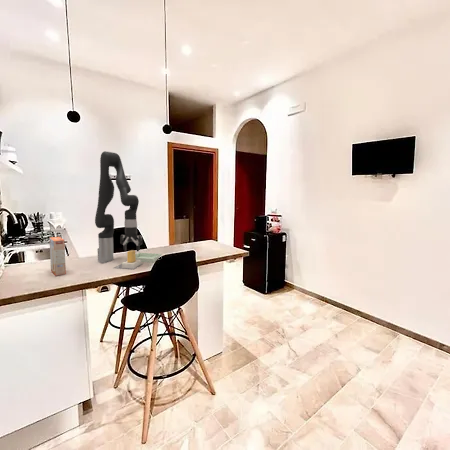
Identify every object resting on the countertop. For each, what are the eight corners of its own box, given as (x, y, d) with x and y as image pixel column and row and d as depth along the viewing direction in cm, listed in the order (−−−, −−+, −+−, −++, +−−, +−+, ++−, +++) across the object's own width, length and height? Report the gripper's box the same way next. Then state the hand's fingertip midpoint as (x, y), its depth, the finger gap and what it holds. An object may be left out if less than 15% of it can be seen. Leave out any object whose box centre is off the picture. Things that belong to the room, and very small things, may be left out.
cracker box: (66, 274, 155) (64, 239, 152) (54, 276, 151) (52, 240, 148) (61, 268, 165) (60, 236, 162) (50, 270, 161) (48, 237, 158)
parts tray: (128, 262, 184) (128, 257, 183) (139, 256, 199) (139, 252, 199) (152, 263, 181) (152, 258, 181) (161, 258, 197) (161, 253, 196)
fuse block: (112, 269, 166) (112, 263, 165) (124, 263, 180) (124, 258, 179) (133, 271, 164) (133, 264, 164) (143, 265, 178) (143, 259, 177)
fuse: (127, 266, 169) (127, 251, 168) (131, 264, 174) (131, 250, 173) (132, 267, 169) (131, 252, 168) (135, 265, 174) (135, 250, 173)
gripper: (117, 226, 165) (118, 251, 167) (138, 227, 164) (139, 252, 165) (123, 225, 173) (124, 249, 175) (143, 225, 171) (144, 250, 173)
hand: (131, 250), depth 170 cm, fingers open, 8 cm apart
